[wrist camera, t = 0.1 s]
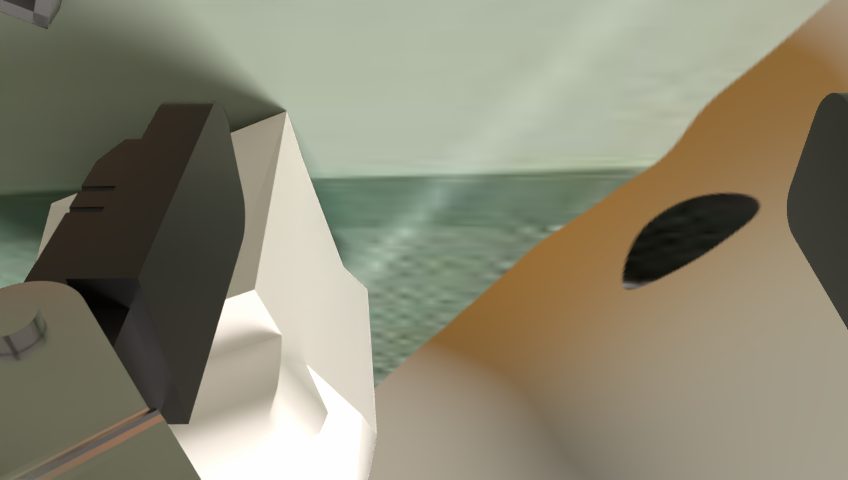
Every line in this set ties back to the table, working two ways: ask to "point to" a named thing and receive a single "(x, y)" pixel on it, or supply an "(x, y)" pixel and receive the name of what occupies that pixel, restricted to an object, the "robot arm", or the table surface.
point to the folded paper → (281, 335)
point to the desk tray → (32, 10)
